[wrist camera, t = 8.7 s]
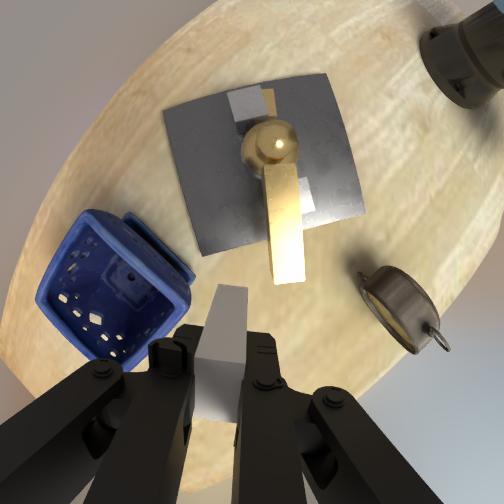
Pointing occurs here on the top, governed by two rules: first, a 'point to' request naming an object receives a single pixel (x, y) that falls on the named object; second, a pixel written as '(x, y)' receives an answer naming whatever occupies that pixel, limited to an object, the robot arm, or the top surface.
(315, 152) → the socket
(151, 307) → the flower pot
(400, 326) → the alarm clock
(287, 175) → the lever handle
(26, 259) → the top surface
